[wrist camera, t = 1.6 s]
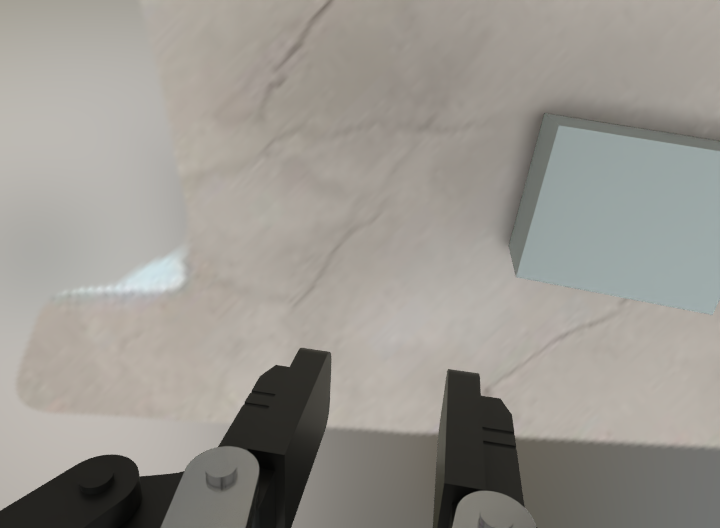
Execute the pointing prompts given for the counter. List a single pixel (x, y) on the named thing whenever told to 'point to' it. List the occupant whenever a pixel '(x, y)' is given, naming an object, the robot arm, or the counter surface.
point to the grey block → (622, 213)
